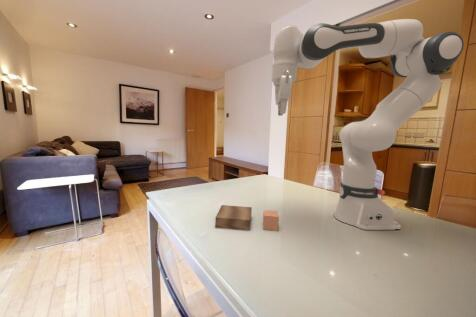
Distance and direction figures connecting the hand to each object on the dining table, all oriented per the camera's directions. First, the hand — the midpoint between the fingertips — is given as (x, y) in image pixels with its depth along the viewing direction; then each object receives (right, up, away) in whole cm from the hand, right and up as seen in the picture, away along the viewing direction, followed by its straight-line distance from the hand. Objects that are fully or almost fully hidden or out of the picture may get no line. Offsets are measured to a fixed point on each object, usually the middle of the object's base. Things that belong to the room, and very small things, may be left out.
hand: (281, 114), depth 77 cm
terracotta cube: (-5, -41, -4) cm, 41 cm away
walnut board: (-18, -40, -1) cm, 44 cm away
